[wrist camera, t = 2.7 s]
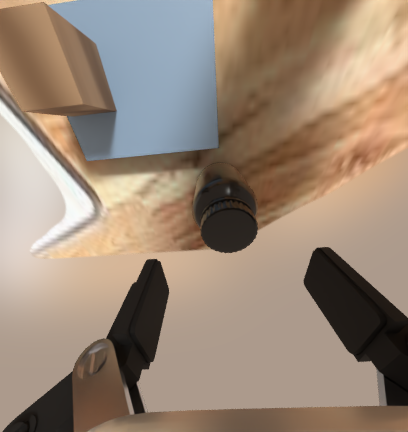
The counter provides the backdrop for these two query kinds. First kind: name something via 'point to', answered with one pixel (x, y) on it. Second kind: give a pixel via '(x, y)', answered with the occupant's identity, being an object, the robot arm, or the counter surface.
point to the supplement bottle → (225, 208)
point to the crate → (51, 63)
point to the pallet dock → (149, 76)
